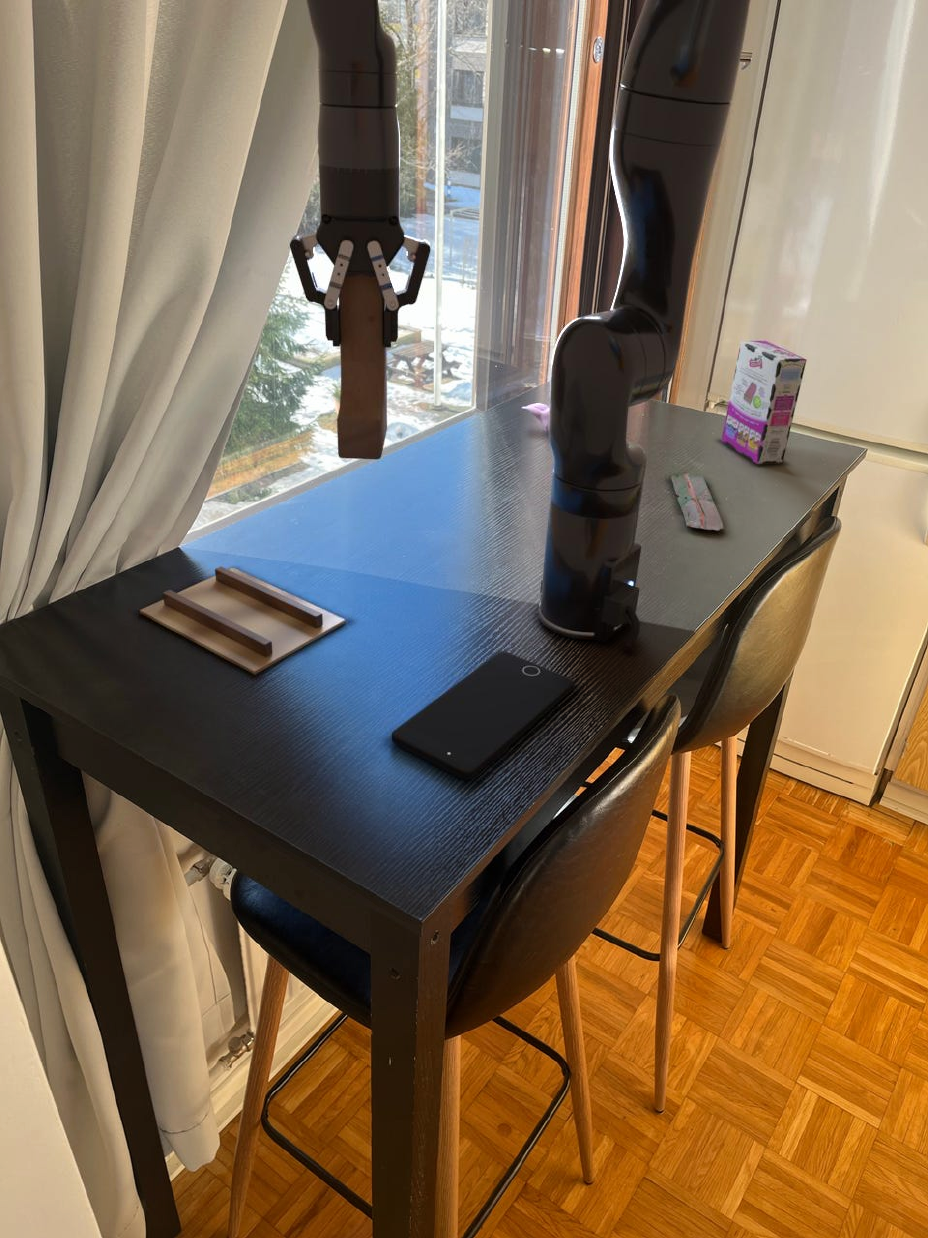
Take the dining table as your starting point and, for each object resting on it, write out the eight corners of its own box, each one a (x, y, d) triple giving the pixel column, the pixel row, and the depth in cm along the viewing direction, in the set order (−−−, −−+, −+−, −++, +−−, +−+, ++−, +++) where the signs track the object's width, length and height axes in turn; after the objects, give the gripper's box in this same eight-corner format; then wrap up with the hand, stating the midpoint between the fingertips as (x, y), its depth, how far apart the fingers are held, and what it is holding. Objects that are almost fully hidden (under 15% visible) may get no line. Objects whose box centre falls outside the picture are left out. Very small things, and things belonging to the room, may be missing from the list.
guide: (345, 622, 102) (345, 607, 101) (254, 674, 93) (253, 658, 92) (233, 570, 111) (231, 555, 110) (140, 613, 102) (137, 598, 101)
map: (701, 478, 142) (702, 472, 142) (726, 531, 124) (727, 525, 124) (668, 476, 143) (668, 470, 142) (688, 529, 125) (689, 522, 124)
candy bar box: (784, 463, 148) (809, 358, 139) (757, 466, 146) (779, 360, 138) (746, 438, 157) (766, 338, 148) (719, 440, 156) (738, 340, 147)
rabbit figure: (604, 449, 153) (534, 412, 161) (613, 416, 150) (542, 379, 157) (580, 459, 149) (510, 420, 157) (589, 425, 146) (517, 386, 153)
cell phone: (576, 688, 93) (577, 680, 93) (468, 783, 80) (469, 775, 80) (501, 656, 97) (502, 649, 97) (388, 742, 85) (388, 734, 84)
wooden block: (381, 461, 99) (379, 281, 89) (337, 459, 99) (331, 279, 89) (387, 430, 106) (386, 262, 97) (347, 429, 106) (342, 260, 97)
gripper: (277, 162, 84) (288, 354, 93) (438, 167, 85) (434, 356, 94) (284, 153, 91) (294, 334, 99) (434, 159, 92) (430, 336, 101)
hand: (362, 344), depth 97 cm, fingers closed on wooden block, 4 cm apart
